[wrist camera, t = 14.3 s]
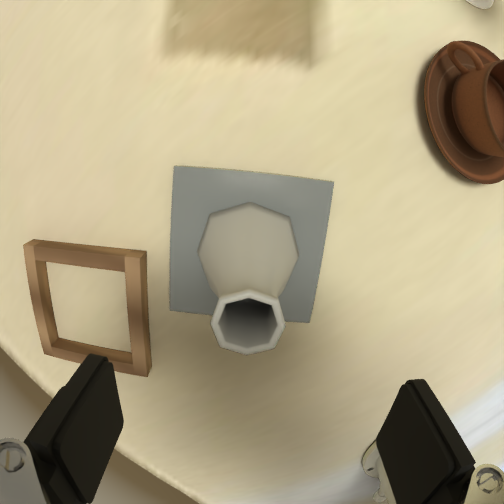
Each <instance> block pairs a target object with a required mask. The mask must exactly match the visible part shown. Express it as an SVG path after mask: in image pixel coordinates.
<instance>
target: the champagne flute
mask: <svg viewBox="0 0 504 504" xmlns="http://www.w3.org/2000/svg"><path fill="white" fill-rule="evenodd" d="M466 1H467V2H469V3H470V4H472V5H473V6H475V7H478V8H481V9H488V8H490V7H491V6H492V5H493V2H494V0H466Z"/></svg>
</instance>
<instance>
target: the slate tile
mask: <svg viewBox="0 0 504 504" xmlns="http://www.w3.org/2000/svg"><path fill="white" fill-rule="evenodd" d="M333 186H334V182H333V181H327V180H320V179H313V178H305V177H298V176H290V175H281V174H272V173H263V172H254V171H243V170H232V169H221V168H208V167H193V166H177V165H176V166H174V173H173V189H172V208H171V234H170V311H178V312H187V313H196V314H205V315H213V313H214V311H215V308H216V306H217V303H218V300H219V298H218V296H217V295H216V294H215V293H214V292H213V291H212V290H211V288H210V286H209V284H208V281H207V278H206V275H205V273H204V270H203V267H202V264H201V261H200V259H199V256H198V253H197V249H198V246H199V243H200V241H201V238H202V235H203V232H204V229H205V226H206V223H207V220H208V217H209V215H210V213H214V212H217V211H220V210H224V209H227V208H231V207H234V206H237V205H241V204H244V203H248V202H252V203H255V204H258V205H260V206H263V207H266V208H268V209H271V210H274V211H276V212H279V213H281V214H284V215H287V216H289V217H290V220H291V223H292V227H293V231H294V235H295V239H296V243H297V247H298V251H299V257H298V260H297V262H296V264H295V266H294V269H293V271H292V273H291V275H290V277H289V280H288V282H287V284H286V286H285V288H284V290H283V292H282V293H281V294H280V295H279V296H278V300H279V303H280V307H281V310H282V314H283V317H284V321H287V322H303V323H310V318H311V313H312V309H313V304H314V299H315V294H316V288H317V283H318V278H319V273H320V267H321V262H322V256H323V250H324V244H325V239H326V232H327V226H328V220H329V214H330V207H331V200H332V193H333Z"/></svg>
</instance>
